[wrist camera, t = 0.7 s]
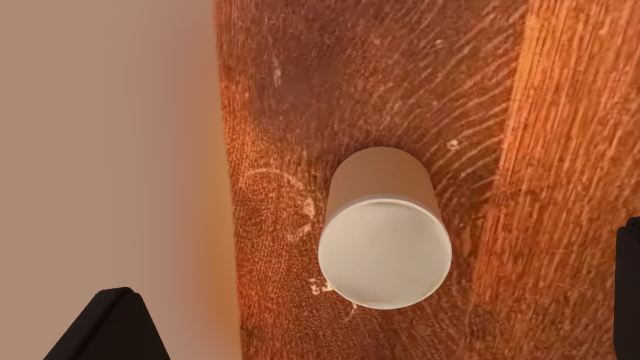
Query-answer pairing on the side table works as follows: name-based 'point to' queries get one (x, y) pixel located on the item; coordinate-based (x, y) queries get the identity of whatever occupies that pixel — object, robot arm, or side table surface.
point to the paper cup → (383, 231)
